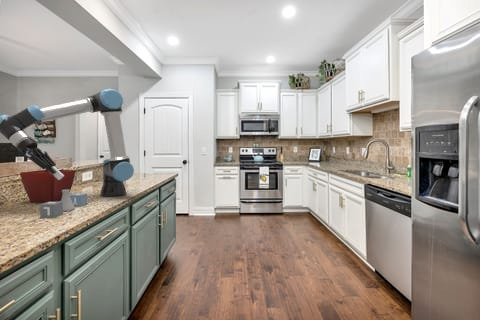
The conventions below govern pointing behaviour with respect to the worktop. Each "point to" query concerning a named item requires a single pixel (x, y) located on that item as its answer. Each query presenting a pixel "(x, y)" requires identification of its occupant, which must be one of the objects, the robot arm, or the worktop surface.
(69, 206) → the flask
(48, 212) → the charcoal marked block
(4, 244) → the worktop surface
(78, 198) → the slate-blue marked block
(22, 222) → the worktop surface
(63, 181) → the plant pot
